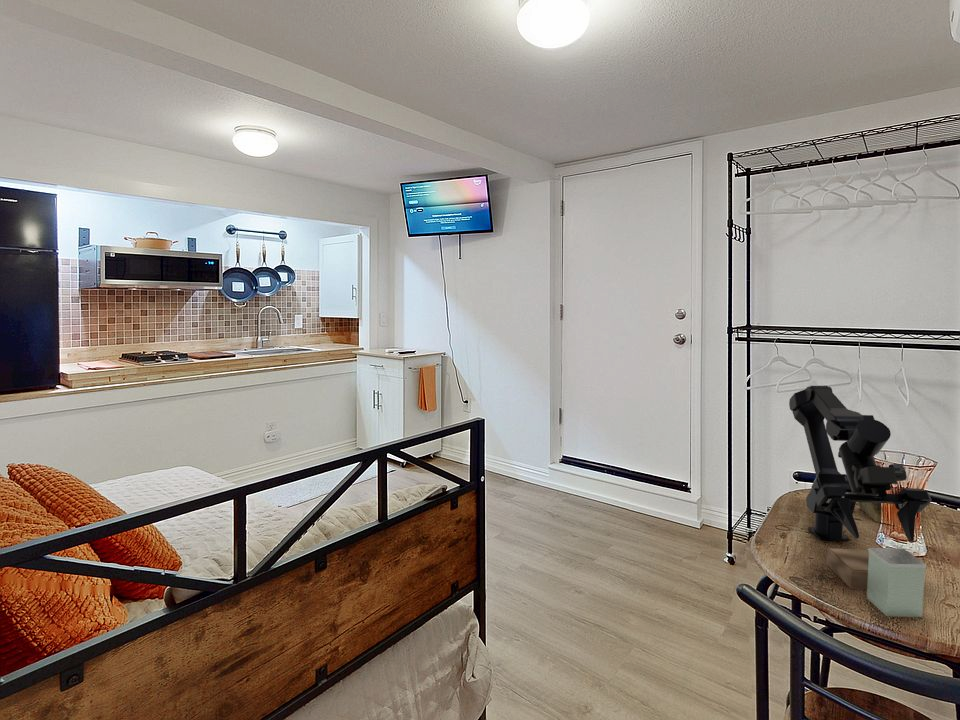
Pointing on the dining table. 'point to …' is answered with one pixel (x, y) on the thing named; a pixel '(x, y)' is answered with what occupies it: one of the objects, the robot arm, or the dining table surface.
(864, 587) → the walnut box
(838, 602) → the dining table surface
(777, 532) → the dining table surface
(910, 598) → the tea tin
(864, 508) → the rock
